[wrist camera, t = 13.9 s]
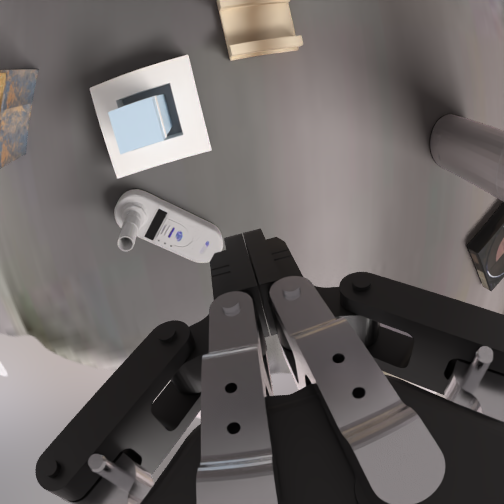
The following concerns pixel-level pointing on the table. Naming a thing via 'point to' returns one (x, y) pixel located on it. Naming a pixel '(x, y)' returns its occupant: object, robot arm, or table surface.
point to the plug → (141, 123)
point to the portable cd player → (489, 250)
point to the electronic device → (165, 227)
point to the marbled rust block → (15, 112)
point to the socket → (179, 105)
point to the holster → (257, 27)
